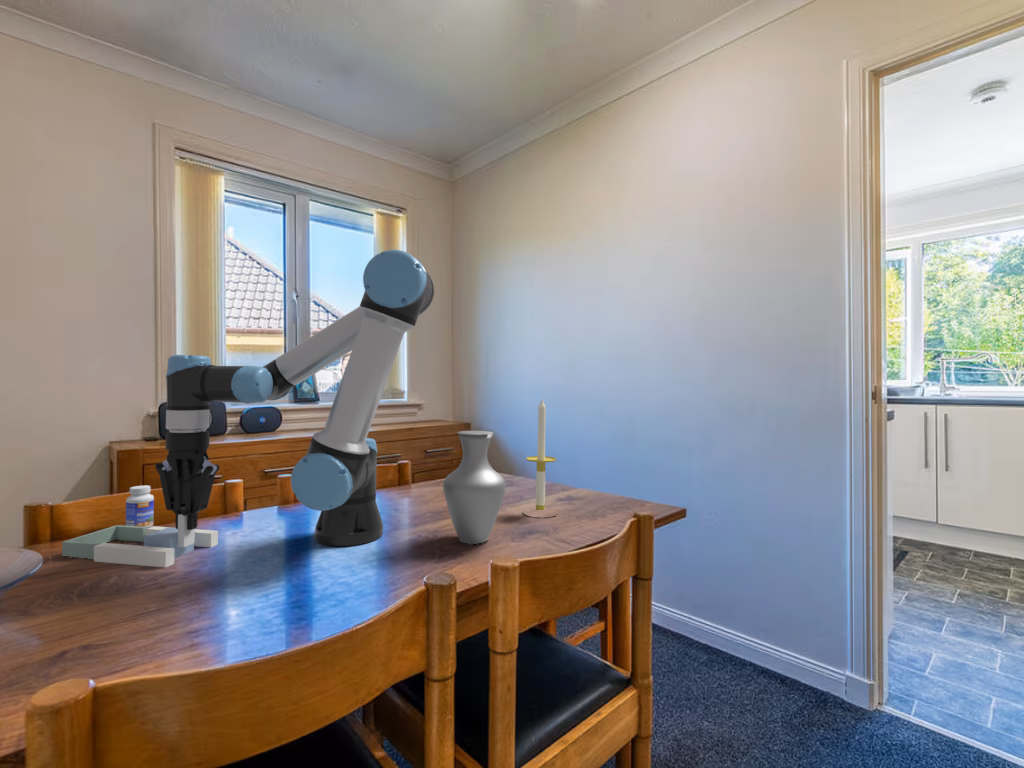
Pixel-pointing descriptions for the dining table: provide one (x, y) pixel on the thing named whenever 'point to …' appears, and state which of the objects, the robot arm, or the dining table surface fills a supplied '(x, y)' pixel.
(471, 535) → the vase
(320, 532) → the robot arm
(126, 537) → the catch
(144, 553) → the chute
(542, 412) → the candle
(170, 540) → the block
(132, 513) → the pill bottle
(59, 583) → the dining table surface
